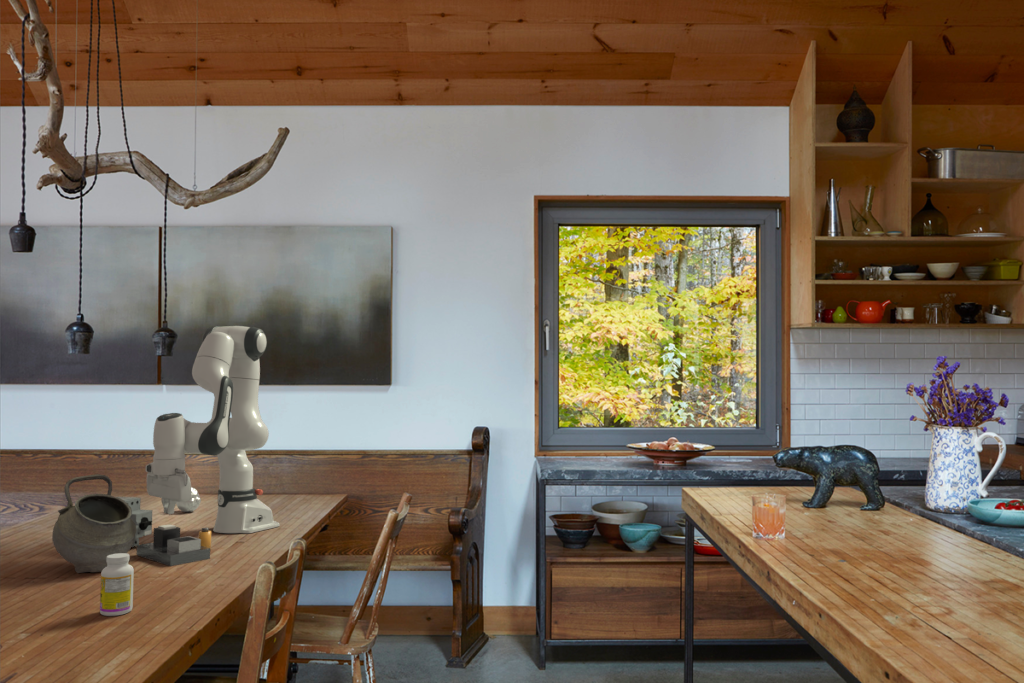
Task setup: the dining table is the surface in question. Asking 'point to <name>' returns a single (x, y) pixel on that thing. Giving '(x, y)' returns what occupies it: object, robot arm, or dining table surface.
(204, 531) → the orange rounded cylinder
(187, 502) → the silver crumpled lump
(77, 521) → the pot
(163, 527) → the button
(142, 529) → the circuit breaker
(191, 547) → the grey socket board
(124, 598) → the supplement bottle
